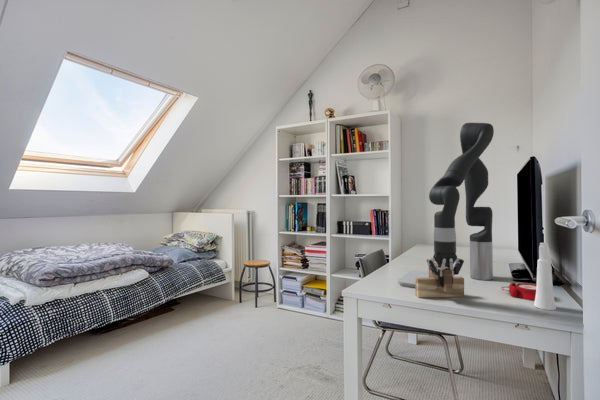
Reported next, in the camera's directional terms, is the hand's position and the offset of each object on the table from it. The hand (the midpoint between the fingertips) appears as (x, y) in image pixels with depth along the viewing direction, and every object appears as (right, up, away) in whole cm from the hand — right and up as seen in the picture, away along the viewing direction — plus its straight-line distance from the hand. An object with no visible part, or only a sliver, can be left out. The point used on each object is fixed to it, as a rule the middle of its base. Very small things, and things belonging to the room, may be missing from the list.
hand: (445, 285), depth 120 cm
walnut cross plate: (0, -2, +4) cm, 5 cm away
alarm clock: (+32, -5, +3) cm, 32 cm away
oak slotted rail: (0, -5, +5) cm, 7 cm away
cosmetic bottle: (+29, -5, -10) cm, 31 cm away
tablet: (+1, -6, +26) cm, 27 cm away
